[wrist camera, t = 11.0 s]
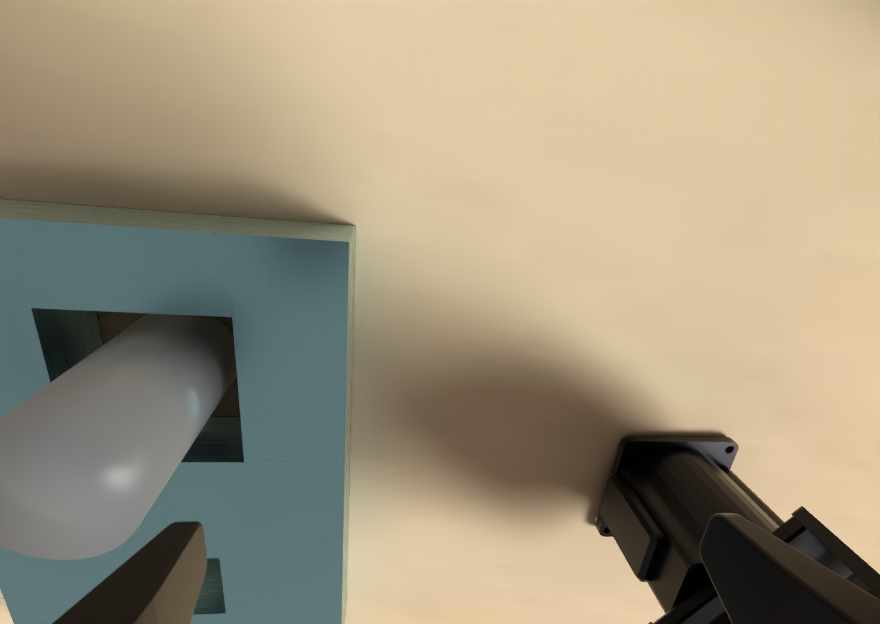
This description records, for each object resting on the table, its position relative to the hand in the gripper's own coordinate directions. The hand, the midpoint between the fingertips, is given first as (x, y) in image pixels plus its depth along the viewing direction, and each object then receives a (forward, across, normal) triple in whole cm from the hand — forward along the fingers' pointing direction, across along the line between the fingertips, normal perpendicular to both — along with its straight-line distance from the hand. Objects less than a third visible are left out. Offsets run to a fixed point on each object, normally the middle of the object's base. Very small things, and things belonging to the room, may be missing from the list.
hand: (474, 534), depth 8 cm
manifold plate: (+12, +10, +8) cm, 18 cm away
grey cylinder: (+12, +10, +3) cm, 16 cm away
